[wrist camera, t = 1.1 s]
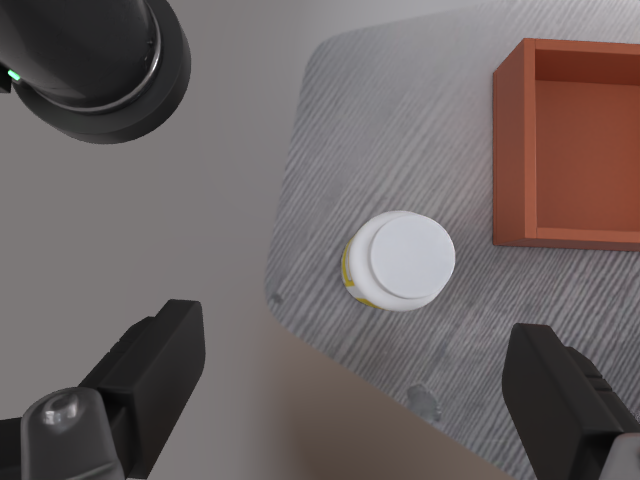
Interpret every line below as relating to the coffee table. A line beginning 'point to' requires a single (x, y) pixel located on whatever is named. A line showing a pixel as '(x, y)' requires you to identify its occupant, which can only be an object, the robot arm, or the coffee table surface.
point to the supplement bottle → (397, 261)
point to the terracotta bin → (567, 146)
